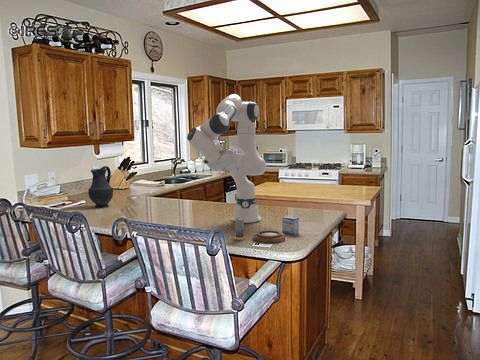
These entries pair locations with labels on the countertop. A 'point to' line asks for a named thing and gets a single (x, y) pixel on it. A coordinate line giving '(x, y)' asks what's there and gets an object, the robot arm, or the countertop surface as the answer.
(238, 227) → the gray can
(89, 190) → the pitcher
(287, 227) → the medicine box
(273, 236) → the ring
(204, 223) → the countertop surface
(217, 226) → the countertop surface
